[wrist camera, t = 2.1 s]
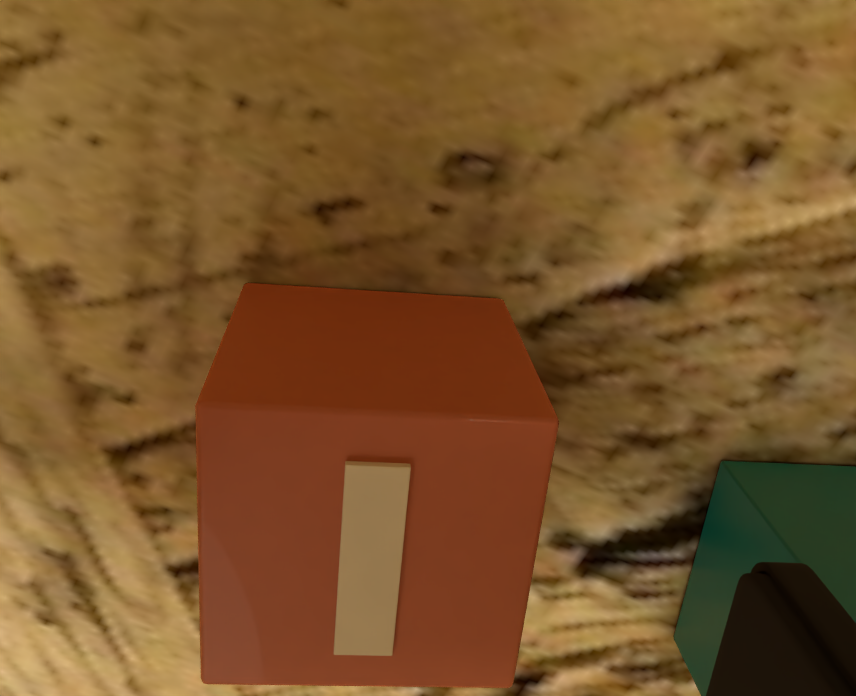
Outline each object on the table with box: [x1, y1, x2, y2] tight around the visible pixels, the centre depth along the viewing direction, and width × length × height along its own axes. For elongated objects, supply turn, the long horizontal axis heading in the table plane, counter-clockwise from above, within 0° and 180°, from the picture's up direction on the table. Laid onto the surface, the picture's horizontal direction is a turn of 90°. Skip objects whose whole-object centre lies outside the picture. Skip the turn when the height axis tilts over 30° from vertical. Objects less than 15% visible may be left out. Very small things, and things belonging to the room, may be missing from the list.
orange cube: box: [195, 283, 559, 688], centre depth 13 cm, size 4×4×4 cm
